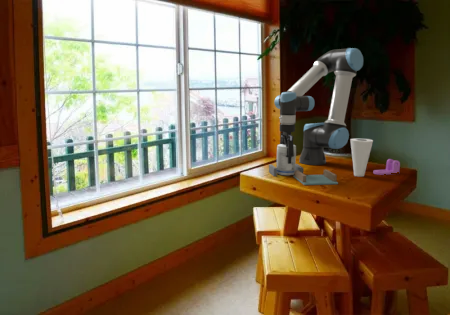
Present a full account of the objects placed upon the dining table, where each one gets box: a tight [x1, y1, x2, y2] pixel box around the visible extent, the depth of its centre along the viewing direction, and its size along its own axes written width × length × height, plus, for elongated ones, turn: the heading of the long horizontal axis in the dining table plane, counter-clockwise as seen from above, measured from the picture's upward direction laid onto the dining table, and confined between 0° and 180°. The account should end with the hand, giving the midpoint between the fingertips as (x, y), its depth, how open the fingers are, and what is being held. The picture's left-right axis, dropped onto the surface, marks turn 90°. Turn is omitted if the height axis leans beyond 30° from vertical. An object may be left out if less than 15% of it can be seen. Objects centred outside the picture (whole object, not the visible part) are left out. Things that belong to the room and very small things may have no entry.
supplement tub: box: [275, 143, 297, 177], centre depth 197 cm, size 10×10×15 cm
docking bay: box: [293, 169, 339, 186], centre depth 185 cm, size 16×16×4 cm
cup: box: [349, 138, 374, 178], centre depth 195 cm, size 11×11×18 cm
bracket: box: [372, 158, 401, 176], centre depth 202 cm, size 13×6×7 cm, turn 108°
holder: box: [268, 163, 304, 177], centre depth 198 cm, size 15×10×4 cm, turn 98°
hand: (285, 167), depth 198 cm, fingers closed on supplement tub, 10 cm apart
